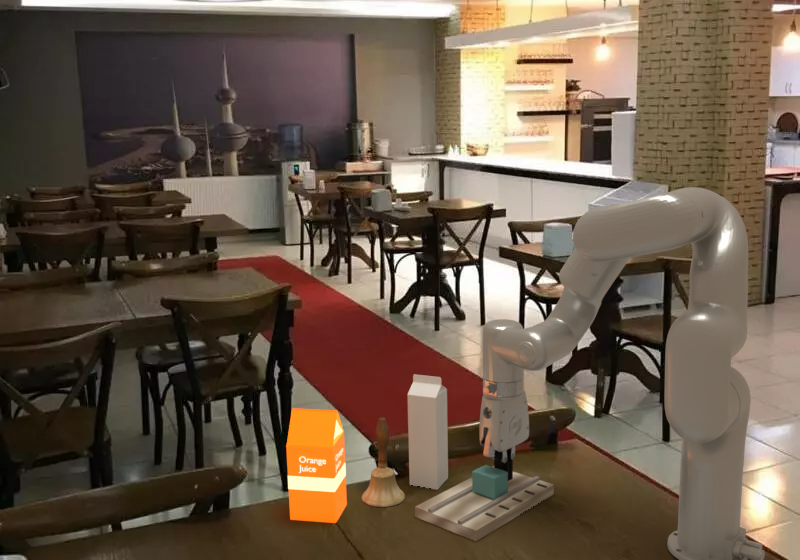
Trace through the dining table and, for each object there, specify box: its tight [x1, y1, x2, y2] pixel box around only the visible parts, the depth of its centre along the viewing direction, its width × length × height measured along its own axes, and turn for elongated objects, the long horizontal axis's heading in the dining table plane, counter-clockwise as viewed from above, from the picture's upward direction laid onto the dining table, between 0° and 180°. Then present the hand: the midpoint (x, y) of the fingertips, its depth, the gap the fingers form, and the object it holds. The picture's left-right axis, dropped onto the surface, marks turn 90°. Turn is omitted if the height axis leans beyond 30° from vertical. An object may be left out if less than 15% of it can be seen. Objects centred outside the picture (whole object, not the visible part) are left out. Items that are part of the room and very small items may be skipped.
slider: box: [471, 464, 508, 499], centre depth 159 cm, size 5×4×4 cm
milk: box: [407, 373, 449, 491], centre depth 167 cm, size 6×6×22 cm
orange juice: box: [285, 407, 348, 524], centre depth 156 cm, size 8×9×20 cm
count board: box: [414, 465, 555, 542], centre depth 158 cm, size 14×24×3 cm, turn 137°
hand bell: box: [361, 417, 406, 508], centre depth 162 cm, size 8×8×16 cm
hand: (503, 478), depth 162 cm, fingers closed
